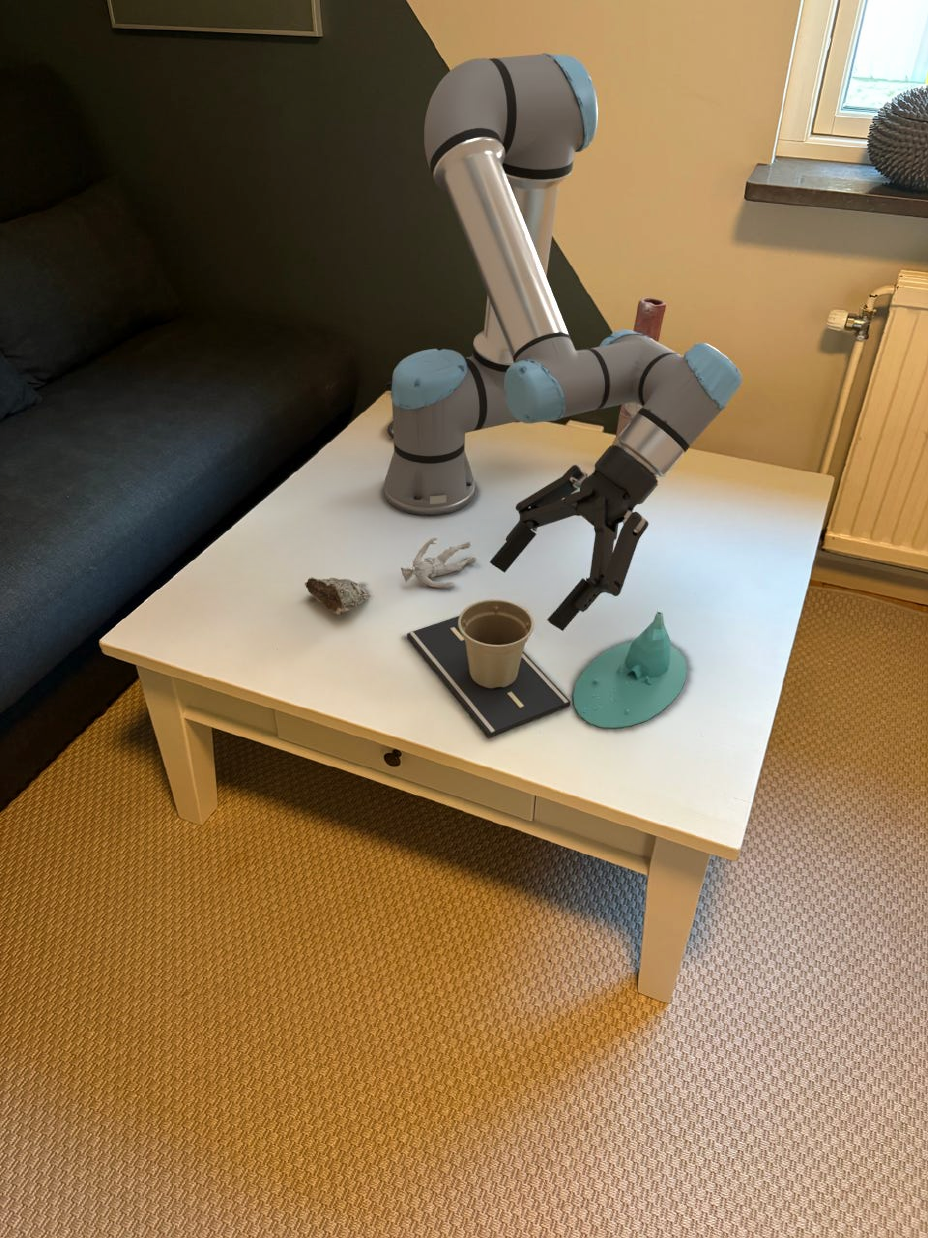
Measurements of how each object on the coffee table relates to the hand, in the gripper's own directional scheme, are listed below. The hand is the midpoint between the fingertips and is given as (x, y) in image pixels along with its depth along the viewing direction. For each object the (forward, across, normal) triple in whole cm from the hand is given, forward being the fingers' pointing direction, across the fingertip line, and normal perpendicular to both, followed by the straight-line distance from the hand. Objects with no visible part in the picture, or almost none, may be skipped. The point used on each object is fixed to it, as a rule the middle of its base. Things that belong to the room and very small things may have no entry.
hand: (524, 595), depth 118 cm
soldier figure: (+8, +24, -9) cm, 27 cm away
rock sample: (+20, +25, +2) cm, 32 cm away
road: (+12, +2, -6) cm, 13 cm away
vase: (-23, +37, -41) cm, 60 cm away
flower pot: (+11, 0, -5) cm, 12 cm away
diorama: (+1, -9, -17) cm, 19 cm away
